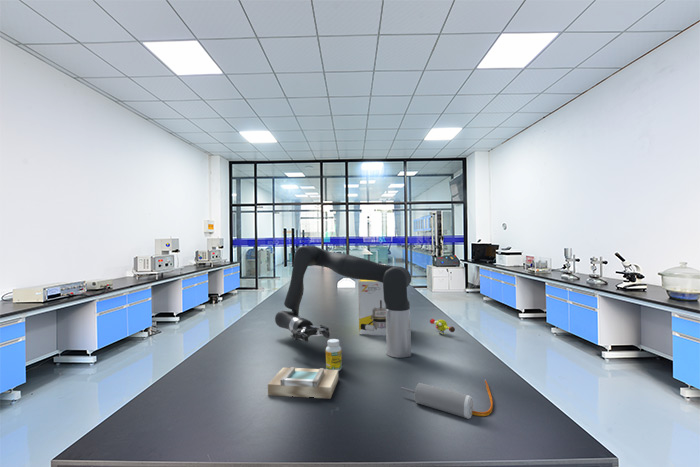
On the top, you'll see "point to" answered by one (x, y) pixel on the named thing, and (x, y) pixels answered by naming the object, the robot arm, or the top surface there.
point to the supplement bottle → (333, 355)
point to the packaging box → (371, 308)
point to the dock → (304, 383)
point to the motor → (447, 400)
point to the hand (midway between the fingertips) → (318, 337)
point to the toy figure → (442, 326)
